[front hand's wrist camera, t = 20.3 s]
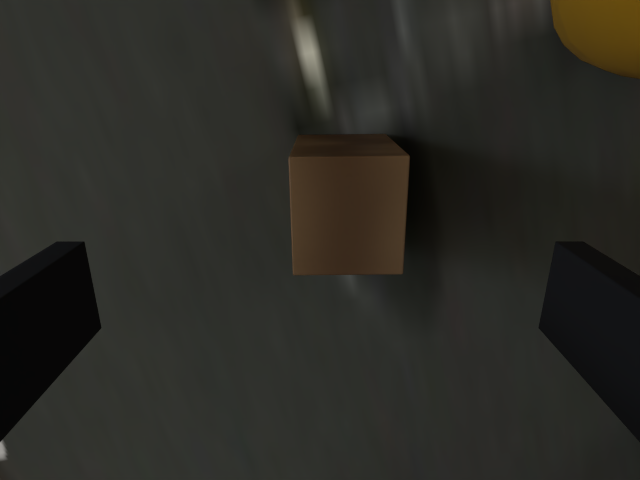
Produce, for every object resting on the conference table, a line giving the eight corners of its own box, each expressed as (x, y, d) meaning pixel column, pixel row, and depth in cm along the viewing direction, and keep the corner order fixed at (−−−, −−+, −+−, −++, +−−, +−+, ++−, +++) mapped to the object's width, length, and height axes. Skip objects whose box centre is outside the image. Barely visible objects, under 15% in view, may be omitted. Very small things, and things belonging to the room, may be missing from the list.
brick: (385, 133, 30) (410, 155, 22) (382, 223, 32) (403, 274, 24) (297, 134, 30) (288, 157, 22) (300, 224, 32) (292, 275, 24)
